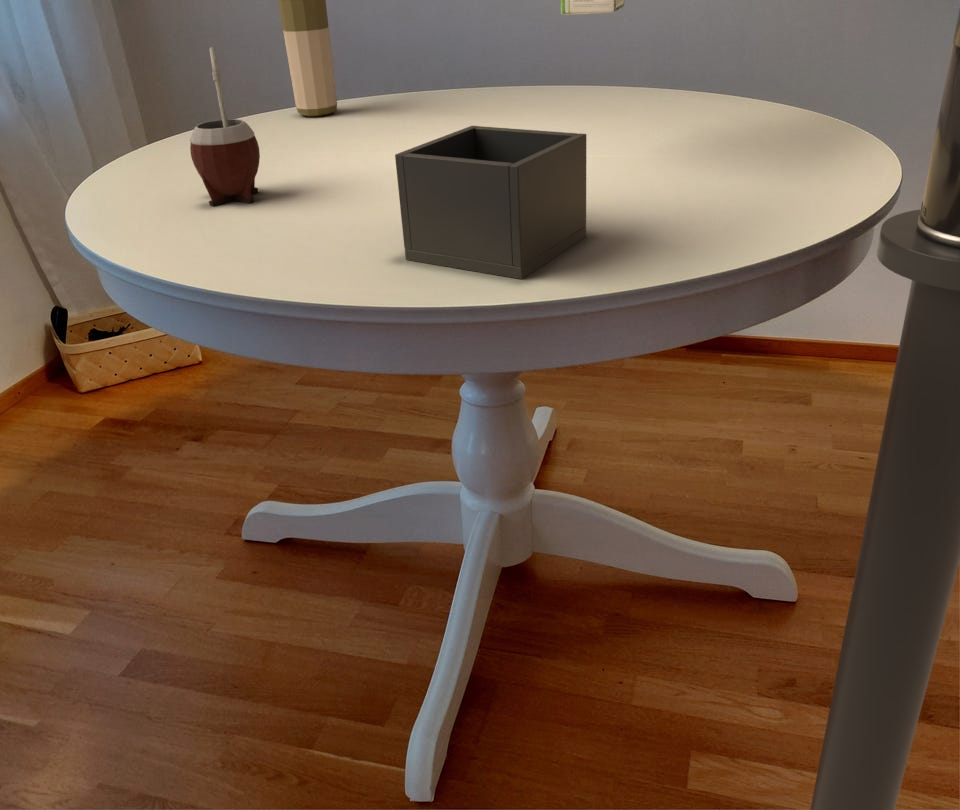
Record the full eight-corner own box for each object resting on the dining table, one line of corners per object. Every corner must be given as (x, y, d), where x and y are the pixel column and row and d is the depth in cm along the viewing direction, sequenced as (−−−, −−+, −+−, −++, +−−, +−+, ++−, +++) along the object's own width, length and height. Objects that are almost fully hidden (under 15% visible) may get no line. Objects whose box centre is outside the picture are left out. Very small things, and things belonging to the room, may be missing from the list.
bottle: (324, 108, 143) (295, -105, 129) (349, 112, 138) (321, -108, 124) (286, 115, 139) (252, -104, 125) (311, 120, 134) (278, -107, 120)
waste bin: (586, 236, 79) (586, 133, 74) (521, 279, 70) (517, 166, 66) (477, 221, 84) (471, 125, 80) (405, 259, 76) (394, 154, 72)
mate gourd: (228, 211, 92) (197, 59, 85) (184, 201, 97) (151, 56, 90) (283, 193, 97) (258, 49, 90) (238, 185, 102) (212, 46, 95)
